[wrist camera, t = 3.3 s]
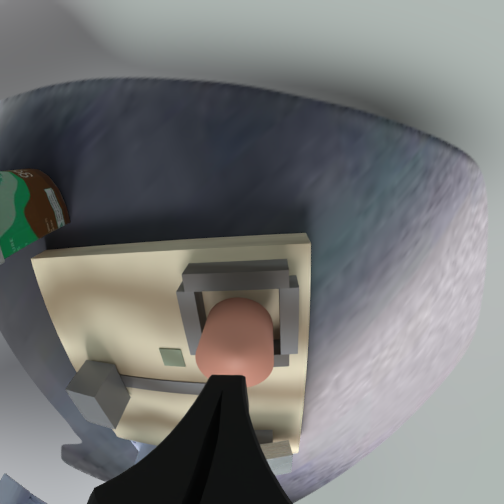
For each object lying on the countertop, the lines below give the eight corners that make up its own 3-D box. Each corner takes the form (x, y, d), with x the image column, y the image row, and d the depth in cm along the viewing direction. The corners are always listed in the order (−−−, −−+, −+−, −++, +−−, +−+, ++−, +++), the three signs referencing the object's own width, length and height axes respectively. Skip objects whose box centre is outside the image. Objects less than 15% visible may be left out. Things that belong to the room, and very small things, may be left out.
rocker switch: (287, 459, 20) (290, 472, 18) (222, 467, 19) (223, 481, 18) (288, 439, 18) (292, 454, 17) (214, 449, 18) (215, 464, 16)
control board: (297, 438, 24) (298, 464, 21) (123, 424, 25) (114, 446, 22) (305, 232, 16) (315, 253, 13) (45, 250, 18) (18, 266, 14)
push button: (273, 349, 15) (274, 387, 12) (212, 350, 15) (202, 387, 13) (271, 296, 14) (272, 330, 11) (202, 298, 14) (188, 331, 11)
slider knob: (130, 397, 20) (115, 429, 16) (103, 392, 20) (87, 421, 16) (114, 364, 18) (94, 397, 15) (86, 359, 19) (65, 389, 15)
